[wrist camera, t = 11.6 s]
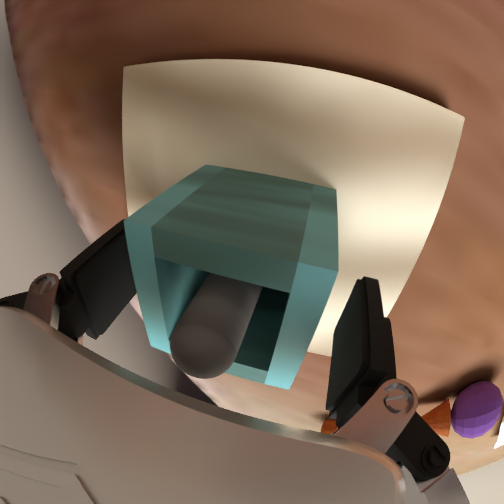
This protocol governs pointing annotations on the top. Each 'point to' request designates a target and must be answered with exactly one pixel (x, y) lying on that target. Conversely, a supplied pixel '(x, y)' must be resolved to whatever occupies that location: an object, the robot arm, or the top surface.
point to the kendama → (459, 412)
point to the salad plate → (500, 435)
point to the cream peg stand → (289, 173)
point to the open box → (239, 260)
